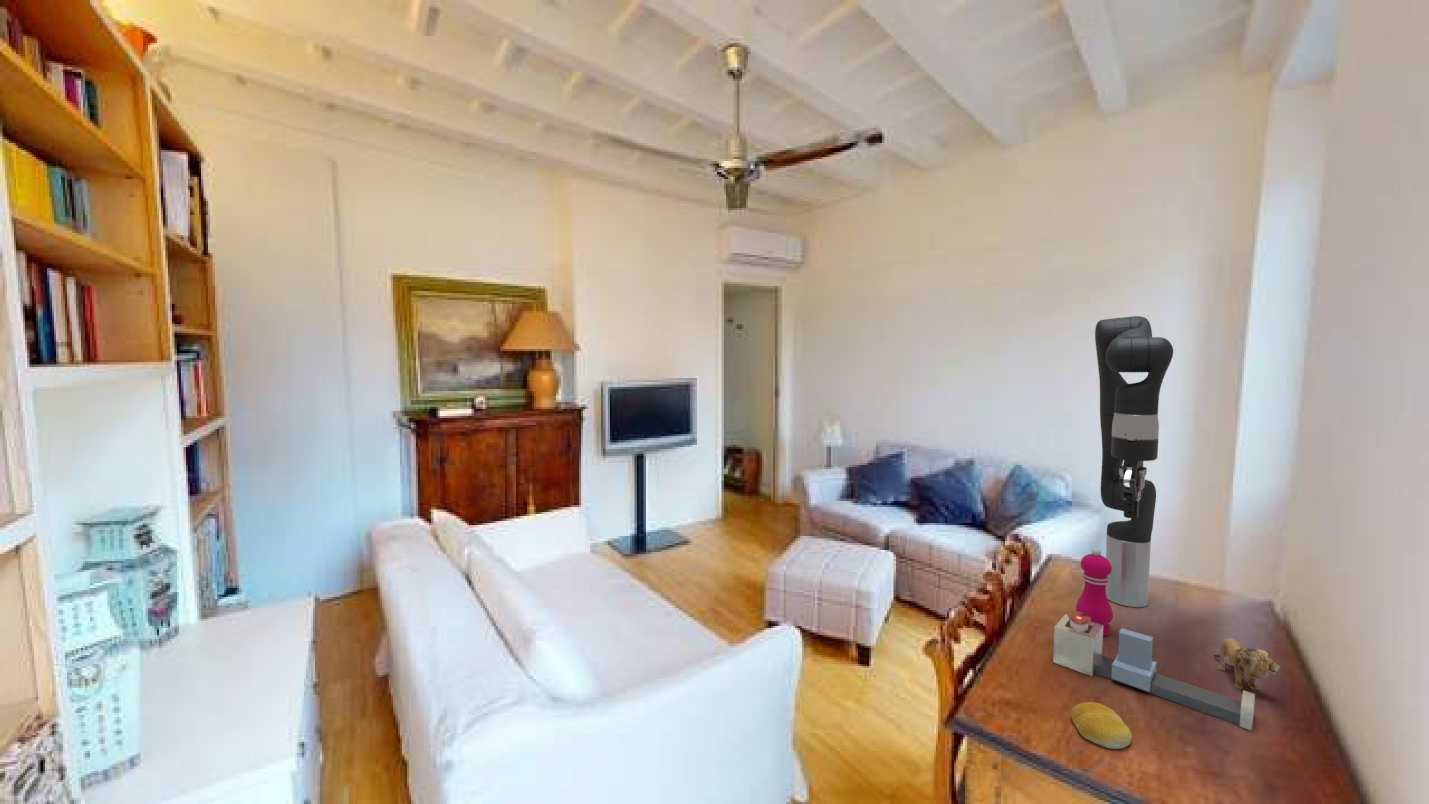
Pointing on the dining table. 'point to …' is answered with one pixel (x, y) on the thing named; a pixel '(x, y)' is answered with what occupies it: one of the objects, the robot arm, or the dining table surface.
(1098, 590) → the pepper mill
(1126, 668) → the carriage
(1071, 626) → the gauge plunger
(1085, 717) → the bread roll
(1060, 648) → the rail station
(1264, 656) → the lion figurine
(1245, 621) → the dining table surface
